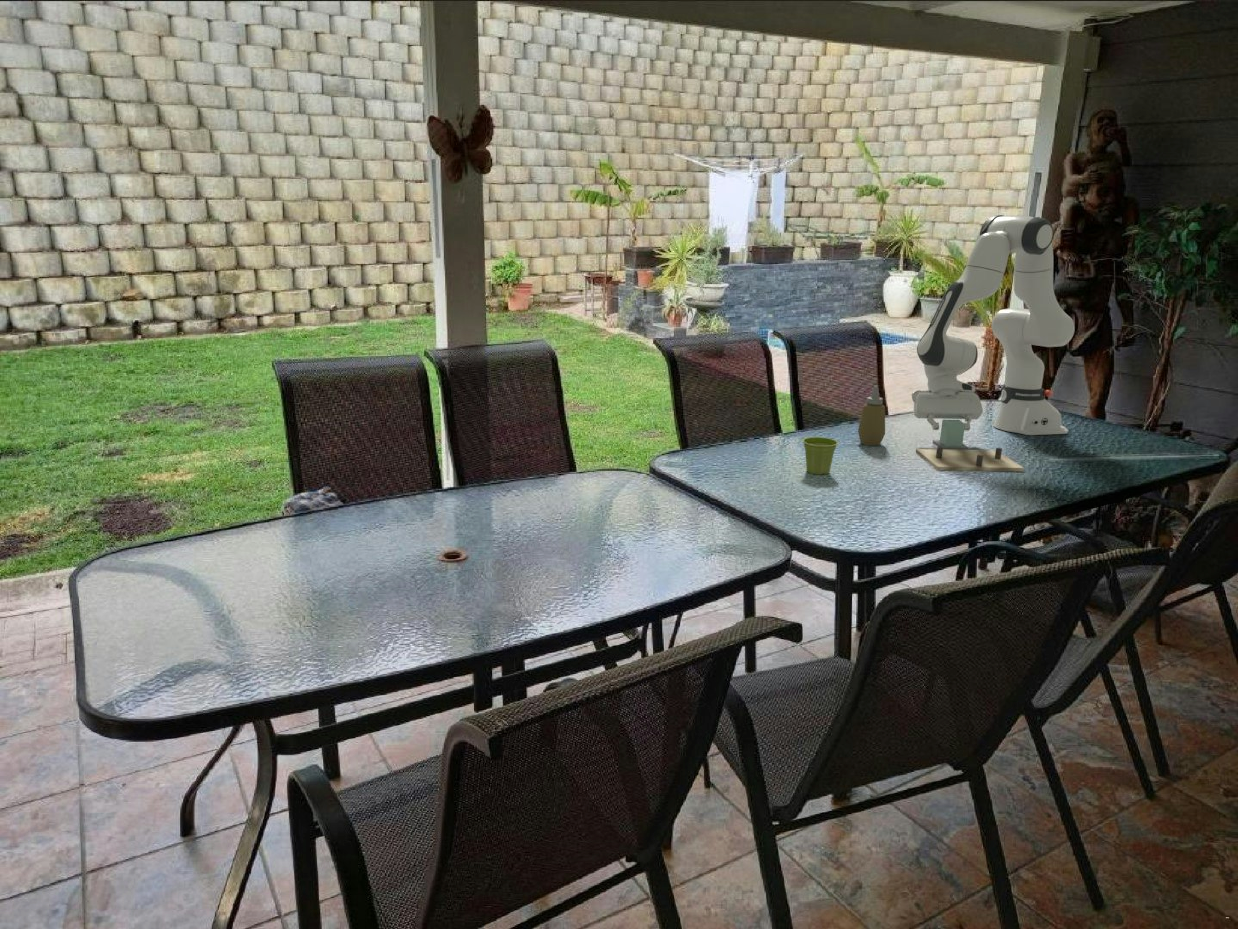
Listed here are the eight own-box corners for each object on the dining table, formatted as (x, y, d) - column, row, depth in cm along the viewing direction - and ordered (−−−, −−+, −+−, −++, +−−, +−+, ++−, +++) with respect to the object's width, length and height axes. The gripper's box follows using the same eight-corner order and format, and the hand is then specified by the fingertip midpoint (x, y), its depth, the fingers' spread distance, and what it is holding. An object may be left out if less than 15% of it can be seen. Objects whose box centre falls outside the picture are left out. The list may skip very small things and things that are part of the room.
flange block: (958, 443, 267) (961, 418, 265) (968, 450, 259) (972, 425, 257) (932, 443, 267) (935, 418, 265) (941, 450, 259) (945, 424, 257)
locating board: (996, 453, 256) (997, 440, 255) (1023, 471, 239) (1025, 457, 238) (915, 452, 256) (917, 439, 255) (937, 470, 239) (939, 456, 238)
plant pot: (795, 473, 234) (798, 442, 231) (805, 464, 242) (808, 435, 239) (830, 478, 230) (833, 447, 227) (839, 470, 238) (841, 439, 235)
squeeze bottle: (887, 447, 261) (893, 389, 256) (860, 447, 261) (866, 388, 256) (879, 440, 269) (886, 383, 263) (853, 440, 269) (859, 383, 263)
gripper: (914, 384, 265) (920, 423, 259) (980, 386, 266) (988, 424, 259) (907, 396, 271) (914, 433, 264) (972, 397, 271) (980, 435, 265)
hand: (951, 429), depth 262 cm, fingers open, 8 cm apart
